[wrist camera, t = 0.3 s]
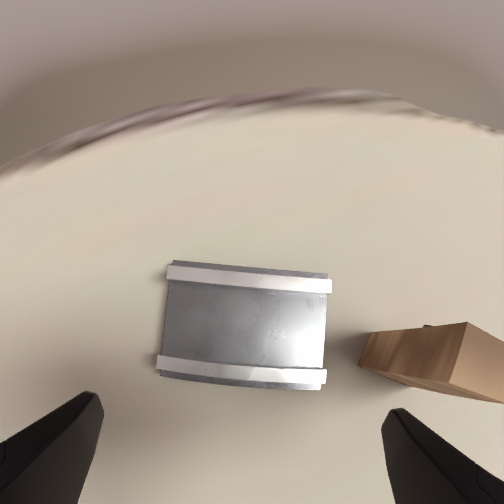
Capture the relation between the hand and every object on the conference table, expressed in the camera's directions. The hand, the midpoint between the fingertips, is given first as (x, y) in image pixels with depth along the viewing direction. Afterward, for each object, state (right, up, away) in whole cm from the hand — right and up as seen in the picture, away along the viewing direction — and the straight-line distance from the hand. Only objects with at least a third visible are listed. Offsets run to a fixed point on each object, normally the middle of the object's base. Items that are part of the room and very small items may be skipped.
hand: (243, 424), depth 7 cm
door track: (+1, -1, +15) cm, 15 cm away
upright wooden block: (+12, -4, +14) cm, 19 cm away
